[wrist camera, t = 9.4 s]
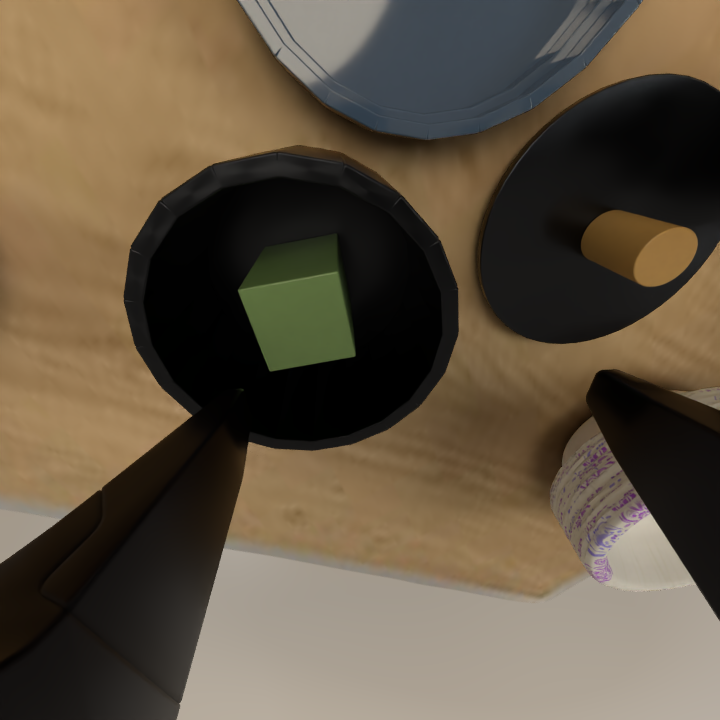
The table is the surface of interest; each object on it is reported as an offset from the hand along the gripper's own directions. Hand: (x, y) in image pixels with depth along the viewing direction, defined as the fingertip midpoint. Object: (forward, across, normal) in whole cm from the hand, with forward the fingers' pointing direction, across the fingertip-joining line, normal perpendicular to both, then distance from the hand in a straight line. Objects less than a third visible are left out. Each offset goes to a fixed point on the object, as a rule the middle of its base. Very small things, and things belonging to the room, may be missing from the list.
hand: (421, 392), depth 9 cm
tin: (+11, +4, 0) cm, 11 cm away
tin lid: (+10, -11, -1) cm, 15 cm away
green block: (+10, +4, 0) cm, 11 cm away
